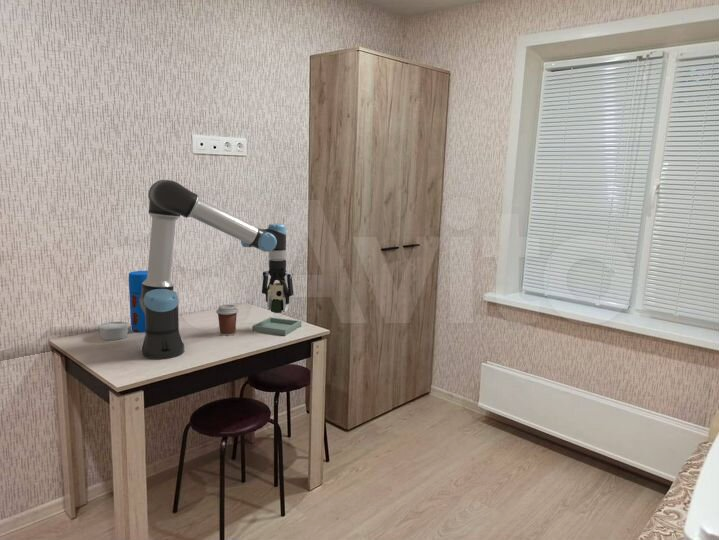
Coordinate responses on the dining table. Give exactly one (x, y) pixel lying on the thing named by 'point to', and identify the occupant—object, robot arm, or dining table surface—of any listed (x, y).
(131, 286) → the thermos
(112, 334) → the ramekin
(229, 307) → the coffee cup
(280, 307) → the character mug
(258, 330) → the tray
